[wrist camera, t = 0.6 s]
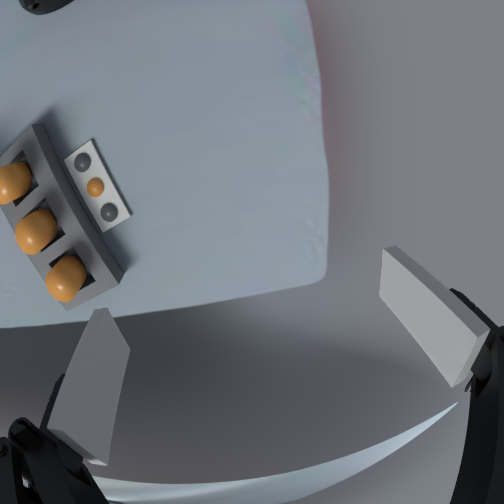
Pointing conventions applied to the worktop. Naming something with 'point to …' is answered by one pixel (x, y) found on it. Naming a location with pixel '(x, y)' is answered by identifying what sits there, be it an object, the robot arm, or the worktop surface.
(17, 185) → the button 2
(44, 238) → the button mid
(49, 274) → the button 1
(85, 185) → the pattern card
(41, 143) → the board
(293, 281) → the worktop surface
